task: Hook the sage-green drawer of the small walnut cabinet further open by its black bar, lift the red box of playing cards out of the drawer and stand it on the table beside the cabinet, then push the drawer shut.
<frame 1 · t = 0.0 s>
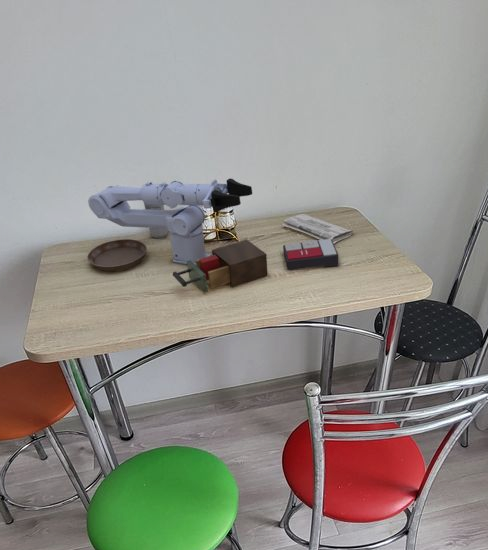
hand: (245, 195, 129), 22 cm above the table, tool horizontal, fingers open, 7 cm apart
newspaper: (316, 231, 162), on the table
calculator: (310, 260, 145), on the table
energy drink can: (159, 235, 164), on the table
card box: (211, 276, 135), point 2 cm above the table, touching drawer
cabinet: (240, 273, 140), on the table
drawer: (203, 274, 134), point 3 cm above the table, slide at 7.0 cm, touching card box
plant saucer: (119, 261, 150), on the table
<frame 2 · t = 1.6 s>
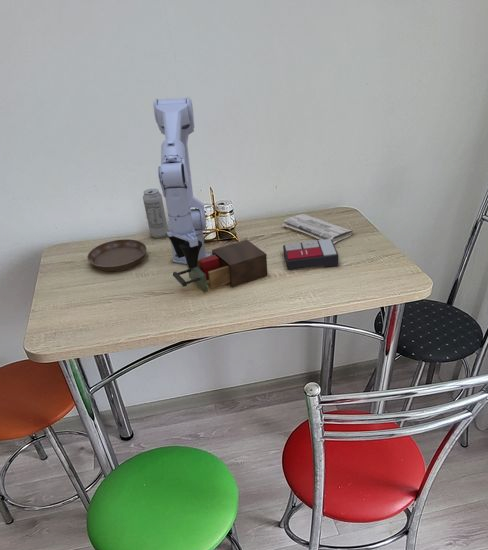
hand: (187, 261, 129), 8 cm above the table, tool pointing down, fingers open, 7 cm apart
nothing on the table moved.
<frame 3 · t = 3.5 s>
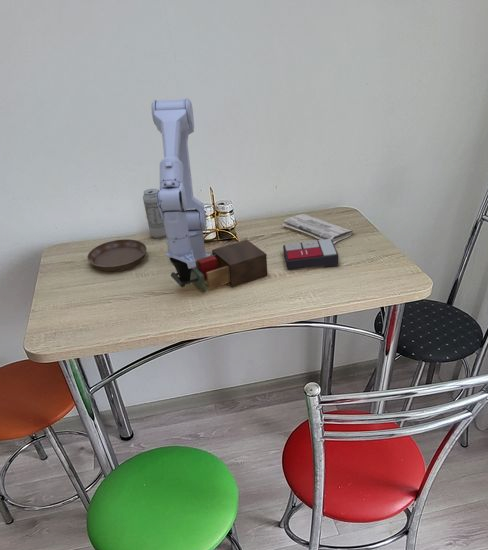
hand: (185, 281, 132), 3 cm above the table, tool pointing down, fingers closed, pressing on drawer
drawer: (202, 274, 133), point 3 cm above the table, slide at 7.5 cm, touching card box, gripper
everything else where it was.
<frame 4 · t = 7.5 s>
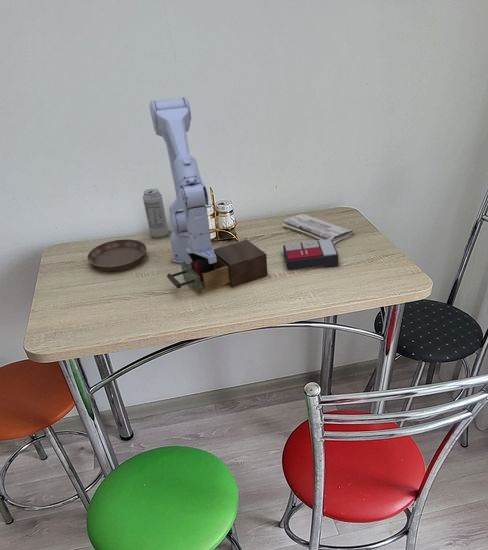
hand: (205, 276, 134), 2 cm above the table, tool pointing down, fingers closed on drawer, 4 cm apart
card box: (205, 278, 135), point 2 cm above the table, touching drawer
drawer: (198, 275, 133), point 3 cm above the table, slide at 8.7 cm, touching card box, gripper
everything else where it was.
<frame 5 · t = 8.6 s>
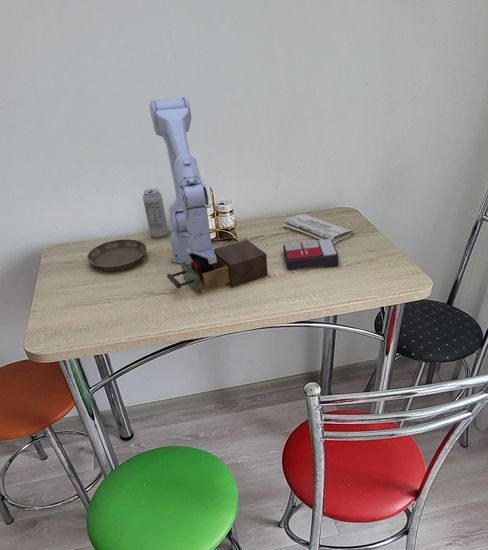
hand: (205, 277, 134), 2 cm above the table, tool pointing down, fingers closed on card box, 2 cm apart
card box: (205, 278, 135), point 2 cm above the table, touching gripper
drawer: (198, 275, 133), point 3 cm above the table, slide at 8.7 cm
everything else where it was.
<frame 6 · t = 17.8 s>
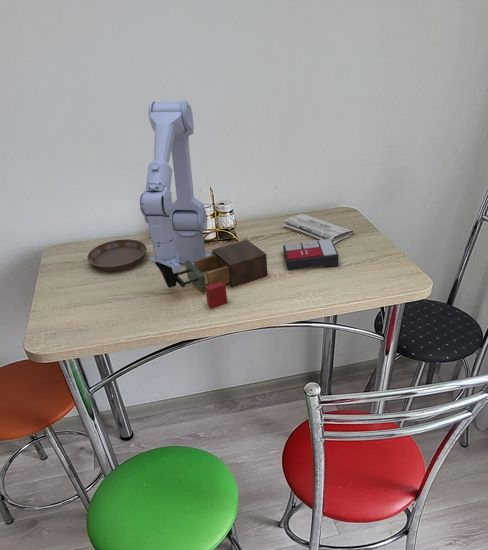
hand: (171, 285, 130), 3 cm above the table, tool pointing down, fingers closed, pressing on drawer
card box: (217, 304, 127), on the table
drawer: (202, 274, 133), point 3 cm above the table, slide at 7.4 cm, touching gripper
everything else where it was.
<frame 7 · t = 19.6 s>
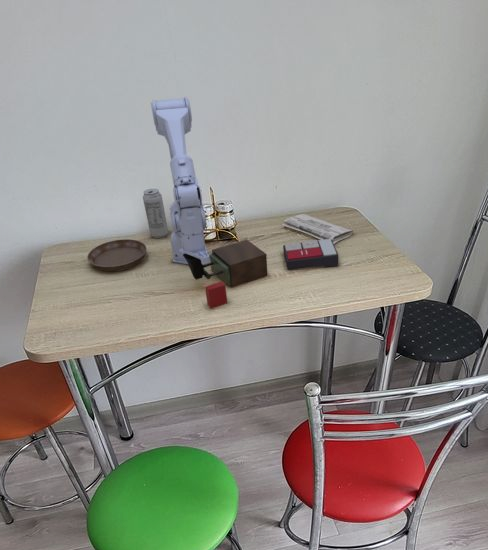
hand: (198, 277, 133), 3 cm above the table, tool pointing down, fingers closed, pressing on drawer
drawer: (226, 267, 136), point 3 cm above the table, slide at 0.0 cm, touching cabinet, gripper
everything else where it was.
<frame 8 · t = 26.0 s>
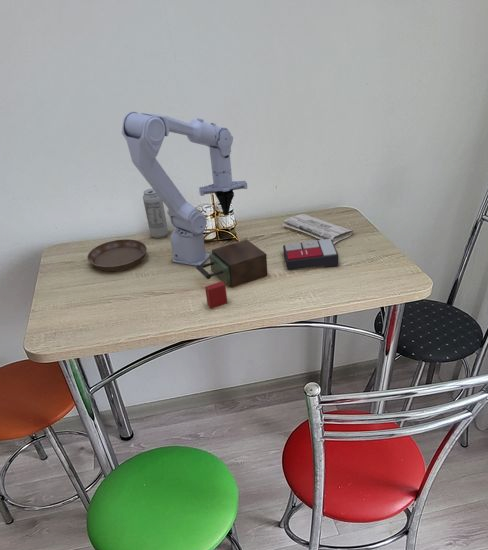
hand: (226, 214, 151), 9 cm above the table, tool pointing down, fingers closed
drawer: (226, 267, 136), point 3 cm above the table, slide at 0.0 cm, touching cabinet
everything else where it was.
at the end: card box inside the target area (0.1 cm from its centre), on the table; drawer slide at 0.0 cm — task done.
